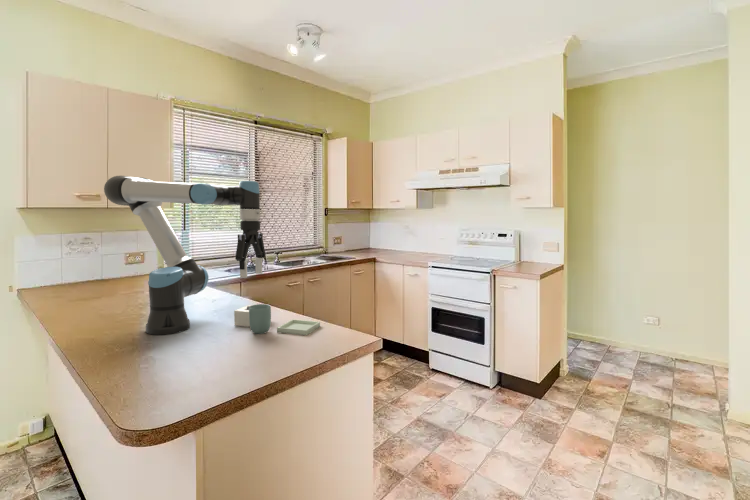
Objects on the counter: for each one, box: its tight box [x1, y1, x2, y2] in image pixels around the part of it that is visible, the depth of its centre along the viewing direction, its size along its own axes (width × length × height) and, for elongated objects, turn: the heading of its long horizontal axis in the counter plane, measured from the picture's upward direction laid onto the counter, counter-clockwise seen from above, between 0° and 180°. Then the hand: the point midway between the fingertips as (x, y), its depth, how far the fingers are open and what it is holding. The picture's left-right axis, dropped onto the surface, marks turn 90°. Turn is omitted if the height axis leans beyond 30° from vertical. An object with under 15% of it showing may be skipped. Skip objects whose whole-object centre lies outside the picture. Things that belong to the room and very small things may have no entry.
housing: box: [233, 304, 253, 328], centre depth 160 cm, size 10×10×6 cm
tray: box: [276, 318, 321, 336], centre depth 152 cm, size 12×12×2 cm
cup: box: [249, 303, 272, 335], centre depth 147 cm, size 8×8×10 cm
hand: (251, 275), depth 158 cm, fingers open, 10 cm apart
